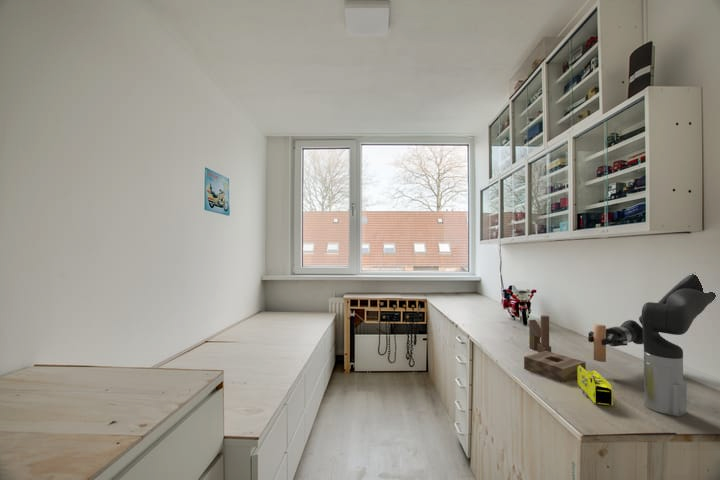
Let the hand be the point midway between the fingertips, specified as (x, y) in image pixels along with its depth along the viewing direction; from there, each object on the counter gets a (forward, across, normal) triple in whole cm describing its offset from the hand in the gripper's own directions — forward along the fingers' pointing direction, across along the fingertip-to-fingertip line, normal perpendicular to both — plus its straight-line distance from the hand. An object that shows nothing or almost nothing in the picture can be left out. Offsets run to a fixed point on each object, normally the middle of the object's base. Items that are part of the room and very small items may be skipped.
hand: (596, 340), depth 131 cm
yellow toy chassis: (+21, -9, -14) cm, 27 cm away
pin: (-3, 0, -8) cm, 8 cm away
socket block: (+10, +11, -14) cm, 20 cm away
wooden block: (-11, +30, -14) cm, 34 cm away
